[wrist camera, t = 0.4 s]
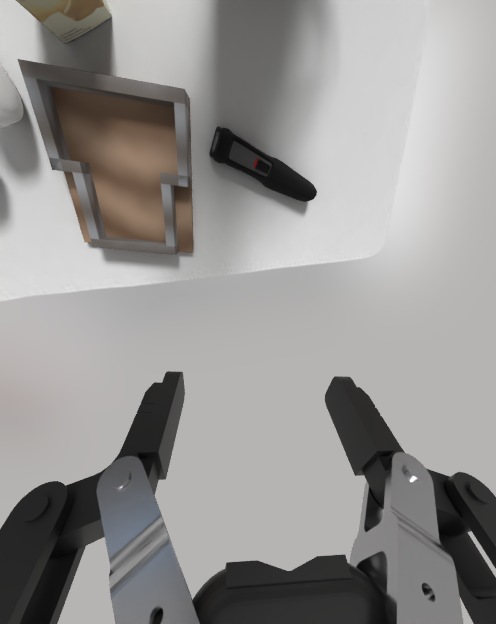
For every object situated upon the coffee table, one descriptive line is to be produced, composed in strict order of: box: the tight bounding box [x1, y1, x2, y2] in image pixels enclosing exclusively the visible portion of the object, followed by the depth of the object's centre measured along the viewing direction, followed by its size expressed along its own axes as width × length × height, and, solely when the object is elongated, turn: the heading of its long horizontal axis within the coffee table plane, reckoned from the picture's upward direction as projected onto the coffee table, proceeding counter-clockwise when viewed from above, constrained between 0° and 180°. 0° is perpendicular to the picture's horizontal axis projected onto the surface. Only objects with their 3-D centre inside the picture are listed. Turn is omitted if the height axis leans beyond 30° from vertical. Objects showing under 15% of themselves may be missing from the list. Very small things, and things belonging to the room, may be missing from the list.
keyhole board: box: [18, 59, 193, 254], centre depth 27 cm, size 18×16×3 cm
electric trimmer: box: [209, 127, 317, 202], centre depth 28 cm, size 4×16×3 cm, turn 66°
